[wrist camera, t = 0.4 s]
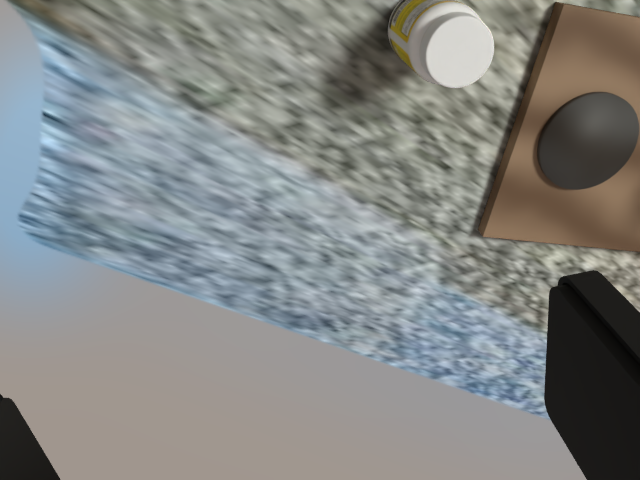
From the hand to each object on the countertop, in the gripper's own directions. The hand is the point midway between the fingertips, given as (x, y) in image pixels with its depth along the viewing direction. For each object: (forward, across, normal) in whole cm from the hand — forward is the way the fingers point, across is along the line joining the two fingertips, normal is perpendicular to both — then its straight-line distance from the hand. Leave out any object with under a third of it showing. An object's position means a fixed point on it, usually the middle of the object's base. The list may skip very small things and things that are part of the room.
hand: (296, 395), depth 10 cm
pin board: (+33, -28, +13) cm, 46 cm away
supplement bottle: (+33, -11, +1) cm, 35 cm away
